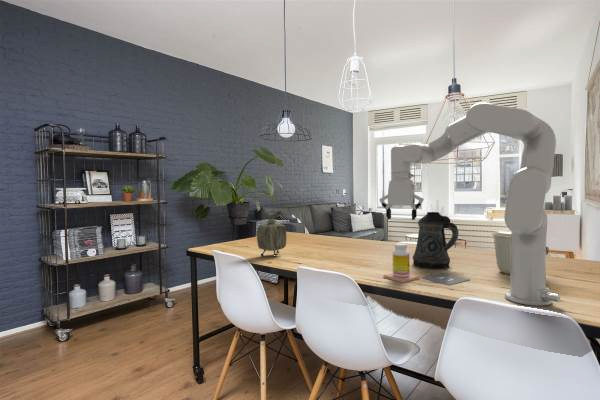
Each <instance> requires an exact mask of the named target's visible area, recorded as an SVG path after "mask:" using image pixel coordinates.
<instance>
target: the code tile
mask: <svg viewBox="0 0 600 400" xmlns="http://www.w3.org/2000/svg"><path fill="white" fill-rule="evenodd" d="M420 279H424V280H427V281H432V282H436V283H440V284H443V285H447V286H451V285H457V284H460V283H464V282H467V281H470V280H471V279H470V278H465V277H461V276H457V275H452V274H447V273H443V272H441V273H435V274H432V275H427V276H422V277H420Z"/></svg>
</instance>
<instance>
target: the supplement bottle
mask: <svg viewBox="0 0 600 400" xmlns="http://www.w3.org/2000/svg"><path fill="white" fill-rule="evenodd" d="M394 248H395V249H394V250H393V251H392V252H391V253H392V254H391V255H392V273H393V275H394V276H396V277H408V276H409V275H410V274H411V272H410V268H411V266H410V251H409V250H407V248H408V244H407V243H401V242H400V243H399V242H397V243H395V244H394Z"/></svg>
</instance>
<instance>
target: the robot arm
mask: <svg viewBox="0 0 600 400" xmlns="http://www.w3.org/2000/svg"><path fill="white" fill-rule="evenodd" d="M487 133H493V134H496V135H501V136H506V137H510V138H512V139H516V140H518V141H521V142H522V143H523V149H522V155H521V163H520V166H519V170H517V171H516V172H515V173H514V174H513V175H512V177H511V178H510V181H509V185H508V191H507V197H506V203H505V210H504V217H503V218H504V223H505V225H506V227H507V228H508V229H510V230H511V231H512V233H511V271H510V274H509V275H510V283H509V285H510V288H509V289H510V290H508V291H506V292H505V293H504V298H505V299H507V300H509V301H510V302H513V303H515V304H516V303H517V304H522V305H526V306H537V307H538V306H539V307H543V306H549V305H551V304H552V302H555V303H560V301H561V296H560V294H558V293H555V292H554V293H552V292H551V291H550V288H549V287H547V286H546V285H547V282H546V278H547V277H546V275H547V273H546V272H547V270H546V269H547V264H546V263H547V259H546V257H547V231H548V214H547V211H546V210H545V208H544V207H545V201H546V200H545V199H546V195H547V193H548V192H549V190H550V189H551V187H552V175H553V171H554V170H553V169H554V163H555V153H556V147H557V146H556V145H557V139H556V134H555V132H554V130H553V129H552V127H551V125H550V124H549V123H547V122H546V121H545V120H543V119H541V118H539V117H537V116H536V115H534V114H533V113H531V112H530V111H529V110H525V109H522V108H517V107H511V106H506V105H505V106H504V105H498V104H493V103H490V102H477V103H475V104H473V105H472V106H470V107H469V109H468V110H467V112H466V114H465V116H463V117H461V118H460V119H458V120H456V121H454V122H453V123H450V124H449V125H447V126H446V127H445V130H444V132H443V134H442V135H441V136H439V137H438V138H436V139H435V140H433V141H431V142H429V143H427V144H424V143H418V142H417V143H416V142H415V143H410V144H407V145H397V146H396V145H395V146H393V147H391V149H390V180H389V183H388V188H387V190H388V191H387V195H384V196H382V197H380V198H379V202H380V204H381V207H383V208H384V209H385V212H386V213H385V215H386V217H385V218H387V220H391V219H392V209H391V208H392V206H410V207H411V208H412V210H411V220H412V221H415V220H416V219H417V215H418V213H417V209H419V208H420V207H421V206H422V205H423V202H424V201H425V200H424V198H423V197H421V196H419V195H417V194H415V186H414V185H415V184H414V181H413V179H412V178H414V177H415V173H412V172H411V164H422V165H423V164H424V165H426V164H430V163H433V162H435V161H437V160H439V159H441V158H443V157H445V156H447V155H449V154H450V153H452V152H453V151H455V150H456V149H457V148H459V147H461V146H462V145H464V144H466V143H468V142H470V141H472V140H474V139H477V138H479V137H481V136H483V135H485V134H487ZM385 200H387V203H386V202H385ZM415 200H417V201H418V202H417V204H415Z"/></svg>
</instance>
